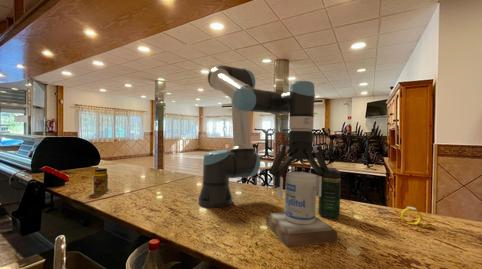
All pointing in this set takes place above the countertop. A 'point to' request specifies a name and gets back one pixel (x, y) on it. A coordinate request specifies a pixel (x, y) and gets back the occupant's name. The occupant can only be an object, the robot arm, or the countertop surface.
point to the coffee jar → (330, 194)
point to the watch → (411, 210)
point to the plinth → (300, 231)
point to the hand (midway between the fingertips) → (298, 196)
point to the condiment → (100, 181)
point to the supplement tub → (300, 197)
